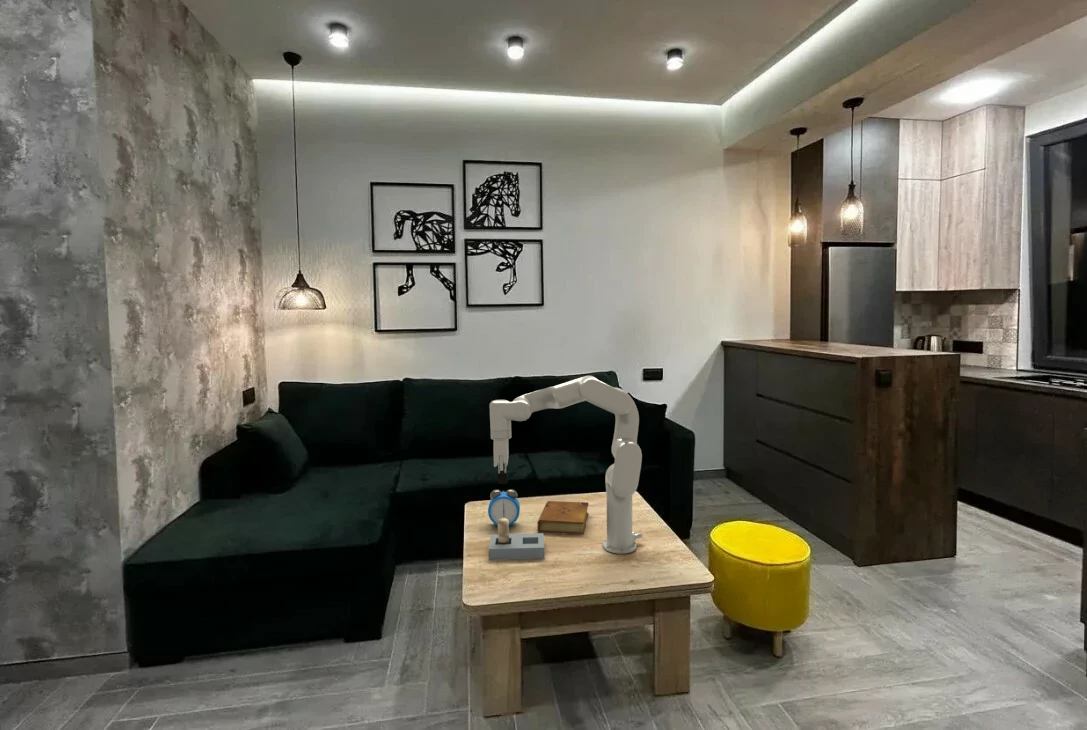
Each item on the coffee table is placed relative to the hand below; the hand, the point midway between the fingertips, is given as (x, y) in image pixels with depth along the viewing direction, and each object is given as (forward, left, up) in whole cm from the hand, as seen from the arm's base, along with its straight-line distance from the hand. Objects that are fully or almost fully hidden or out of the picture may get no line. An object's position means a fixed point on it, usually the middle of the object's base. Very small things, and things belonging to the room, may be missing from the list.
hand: (502, 483), depth 200 cm
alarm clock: (-12, -24, -26) cm, 37 cm away
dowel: (0, 0, -26) cm, 26 cm away
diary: (-34, -12, -27) cm, 45 cm away
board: (-4, +2, -26) cm, 27 cm away
